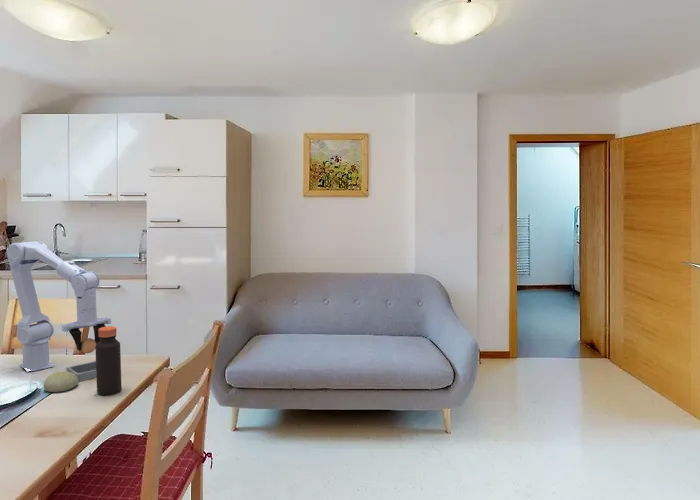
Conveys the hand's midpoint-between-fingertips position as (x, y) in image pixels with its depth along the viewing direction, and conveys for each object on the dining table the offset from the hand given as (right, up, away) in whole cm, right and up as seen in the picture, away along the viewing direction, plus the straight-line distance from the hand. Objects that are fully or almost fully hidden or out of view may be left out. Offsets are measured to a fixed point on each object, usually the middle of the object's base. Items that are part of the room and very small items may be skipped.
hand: (88, 348), depth 158 cm
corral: (0, -9, +1) cm, 9 cm away
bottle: (+14, -11, -13) cm, 22 cm away
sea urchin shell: (-2, -11, -11) cm, 15 cm away
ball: (0, -2, 0) cm, 2 cm away
